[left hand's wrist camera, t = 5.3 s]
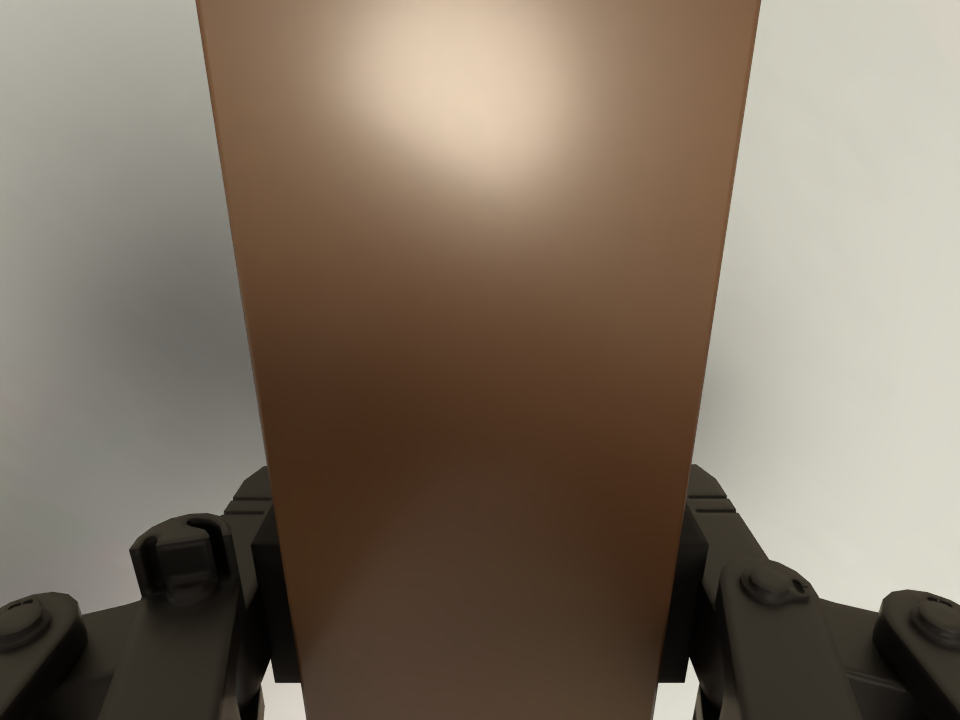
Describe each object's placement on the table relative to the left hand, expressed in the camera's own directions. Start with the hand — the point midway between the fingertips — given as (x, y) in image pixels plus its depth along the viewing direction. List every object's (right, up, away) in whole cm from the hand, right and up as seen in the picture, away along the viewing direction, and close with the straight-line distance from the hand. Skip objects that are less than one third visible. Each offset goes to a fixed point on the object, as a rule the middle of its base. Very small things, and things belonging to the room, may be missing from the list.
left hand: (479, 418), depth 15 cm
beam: (0, +24, -9) cm, 25 cm away
